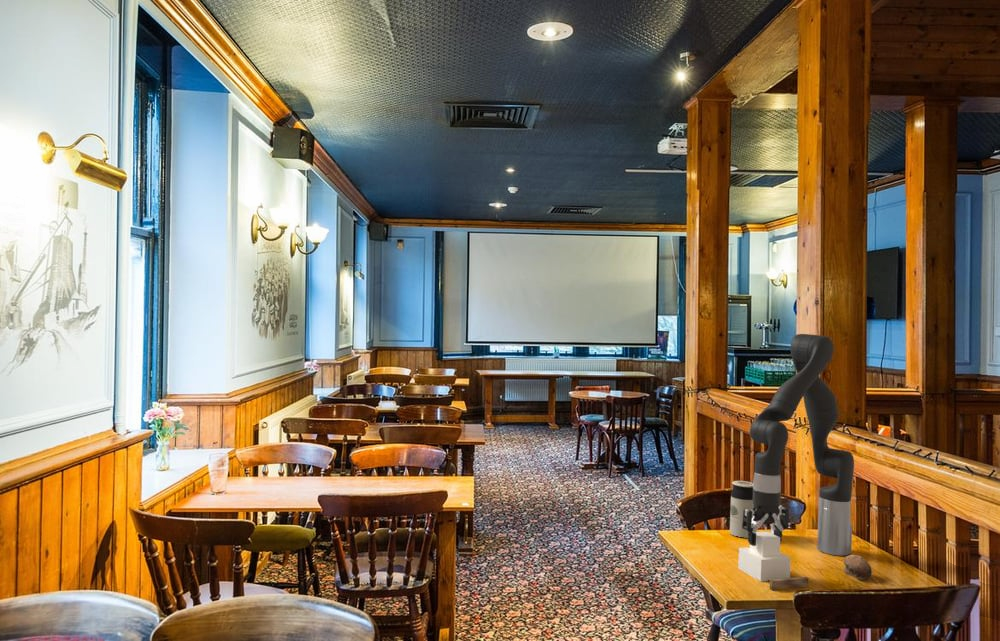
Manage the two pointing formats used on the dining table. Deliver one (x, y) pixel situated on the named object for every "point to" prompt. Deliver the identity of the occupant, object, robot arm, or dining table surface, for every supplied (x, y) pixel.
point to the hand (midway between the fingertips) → (764, 544)
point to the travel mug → (740, 506)
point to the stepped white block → (764, 558)
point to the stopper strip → (789, 583)
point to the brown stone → (857, 567)
